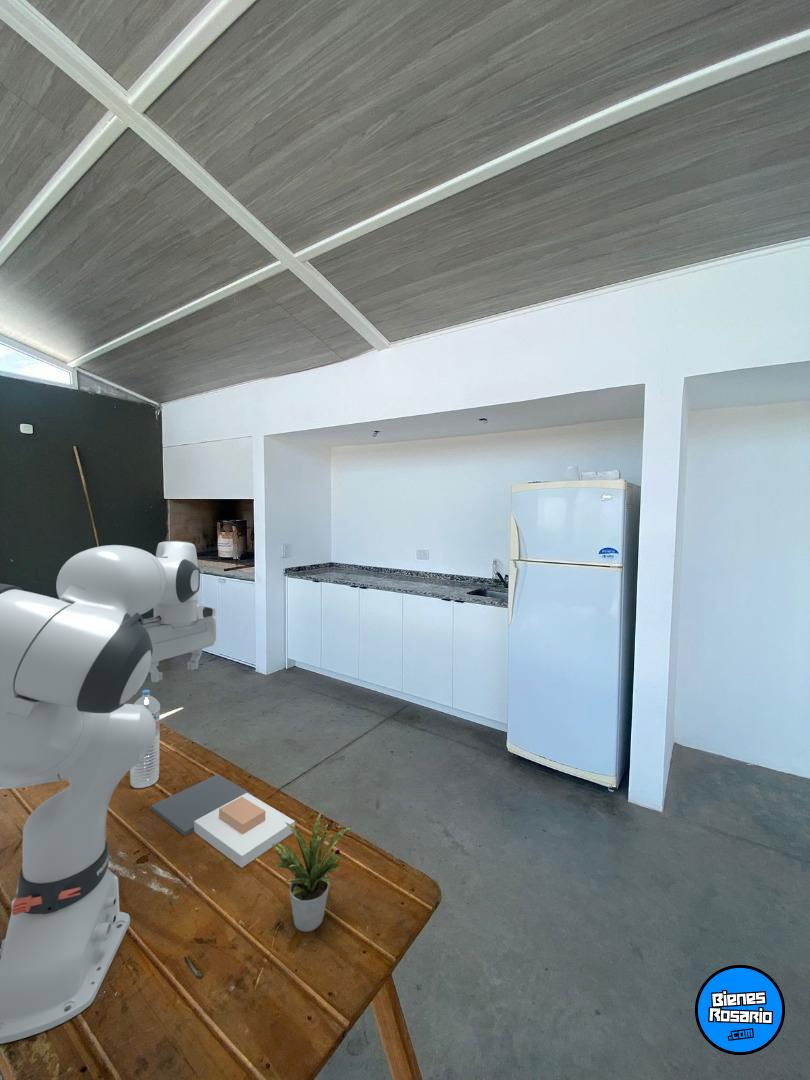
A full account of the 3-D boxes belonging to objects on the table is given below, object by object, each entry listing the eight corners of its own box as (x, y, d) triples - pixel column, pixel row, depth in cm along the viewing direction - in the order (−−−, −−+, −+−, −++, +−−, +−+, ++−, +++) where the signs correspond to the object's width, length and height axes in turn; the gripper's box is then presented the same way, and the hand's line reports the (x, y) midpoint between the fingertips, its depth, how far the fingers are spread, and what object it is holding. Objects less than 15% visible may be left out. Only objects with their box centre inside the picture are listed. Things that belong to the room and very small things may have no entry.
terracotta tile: (265, 820, 104) (265, 810, 104) (242, 834, 99) (242, 824, 99) (241, 805, 109) (241, 796, 109) (218, 818, 104) (219, 808, 104)
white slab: (294, 831, 104) (294, 820, 104) (241, 867, 93) (241, 856, 92) (246, 802, 114) (246, 792, 114) (193, 831, 103) (194, 821, 103)
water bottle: (154, 772, 127) (156, 684, 126) (162, 782, 122) (163, 691, 121) (126, 781, 122) (128, 690, 121) (133, 792, 117) (135, 697, 116)
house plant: (334, 873, 92) (336, 794, 91) (366, 924, 80) (368, 834, 80) (264, 902, 84) (266, 817, 84) (287, 964, 73) (290, 865, 72)
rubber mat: (252, 798, 116) (253, 794, 116) (184, 836, 101) (184, 831, 101) (218, 777, 125) (218, 774, 125) (150, 809, 110) (150, 805, 110)
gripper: (143, 622, 90) (142, 691, 90) (221, 607, 109) (220, 664, 109) (121, 619, 92) (121, 687, 92) (201, 605, 111) (200, 661, 111)
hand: (175, 674), depth 101 cm, fingers open, 8 cm apart
